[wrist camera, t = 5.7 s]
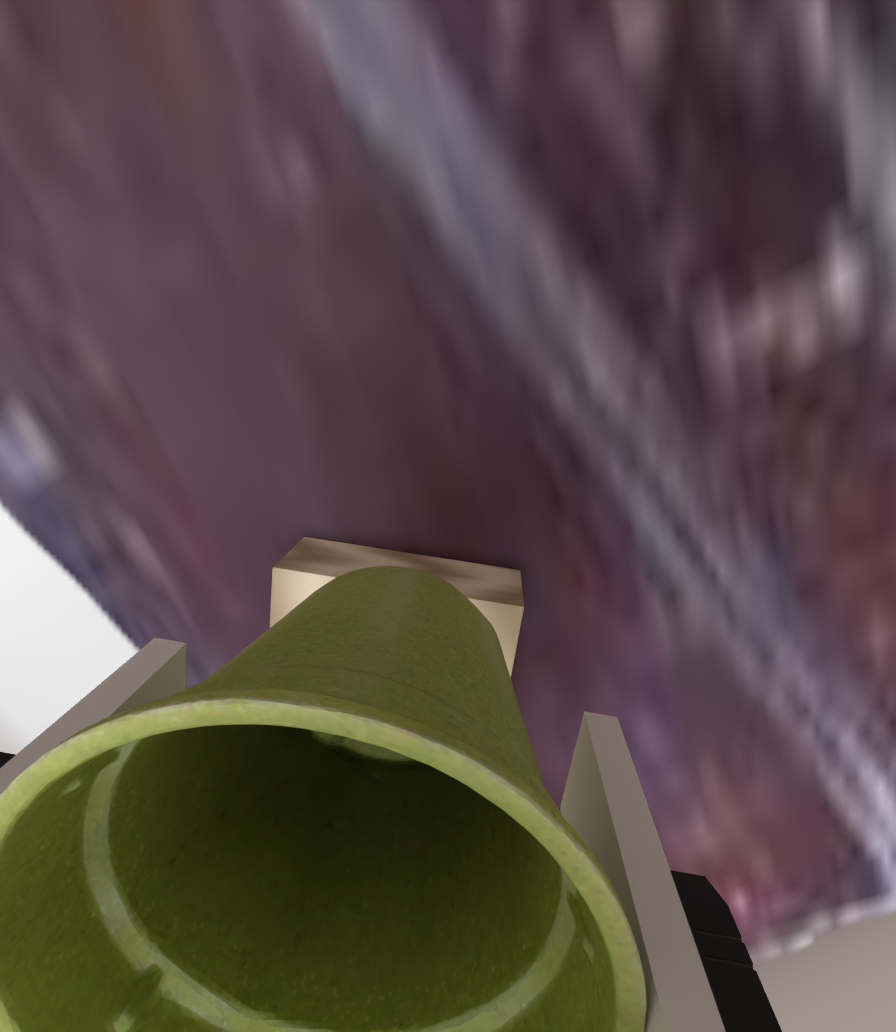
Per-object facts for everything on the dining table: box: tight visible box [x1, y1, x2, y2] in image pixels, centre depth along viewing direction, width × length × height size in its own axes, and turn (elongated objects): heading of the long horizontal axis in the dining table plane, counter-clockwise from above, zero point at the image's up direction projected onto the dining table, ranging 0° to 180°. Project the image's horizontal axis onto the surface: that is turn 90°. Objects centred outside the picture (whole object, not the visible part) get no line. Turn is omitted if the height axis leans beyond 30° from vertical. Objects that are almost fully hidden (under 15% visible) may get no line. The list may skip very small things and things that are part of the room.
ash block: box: [270, 537, 524, 678], centre depth 33 cm, size 13×13×5 cm
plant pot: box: [0, 566, 647, 1032], centre depth 12 cm, size 9×9×9 cm
